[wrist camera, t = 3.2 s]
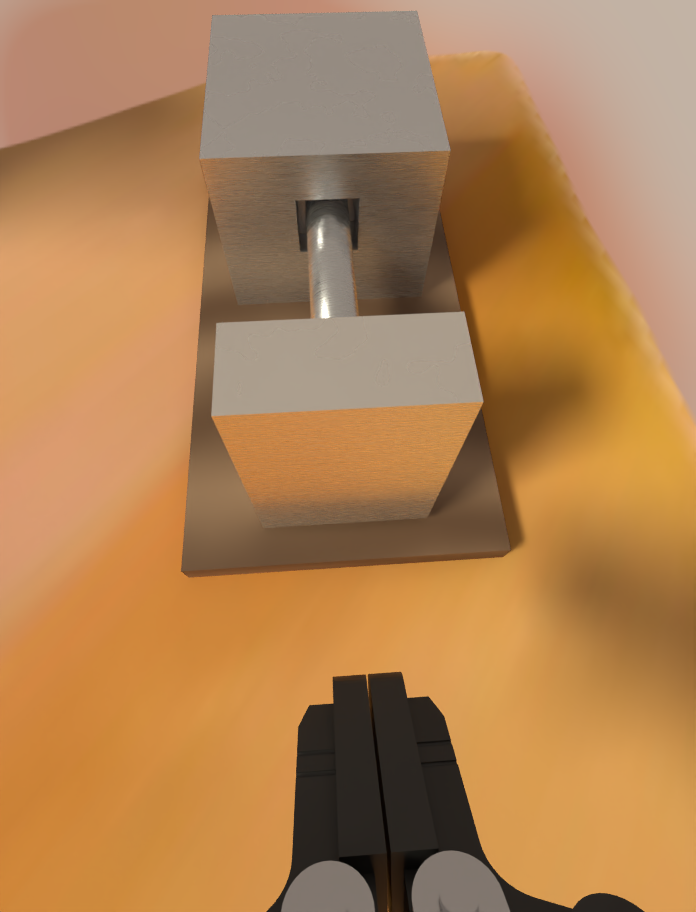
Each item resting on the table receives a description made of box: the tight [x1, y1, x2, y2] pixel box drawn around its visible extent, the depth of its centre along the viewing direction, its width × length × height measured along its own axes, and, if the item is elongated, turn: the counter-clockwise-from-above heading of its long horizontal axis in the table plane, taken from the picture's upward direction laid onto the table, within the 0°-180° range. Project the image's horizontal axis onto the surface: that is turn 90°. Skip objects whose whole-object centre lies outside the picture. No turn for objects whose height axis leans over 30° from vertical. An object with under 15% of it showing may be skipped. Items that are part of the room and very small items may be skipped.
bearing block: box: [199, 11, 451, 305], centre depth 26 cm, size 11×10×8 cm
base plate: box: [181, 197, 511, 577], centre depth 28 cm, size 27×14×1 cm, turn 4°
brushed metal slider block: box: [211, 199, 484, 528], centre depth 22 cm, size 21×7×10 cm, turn 4°
